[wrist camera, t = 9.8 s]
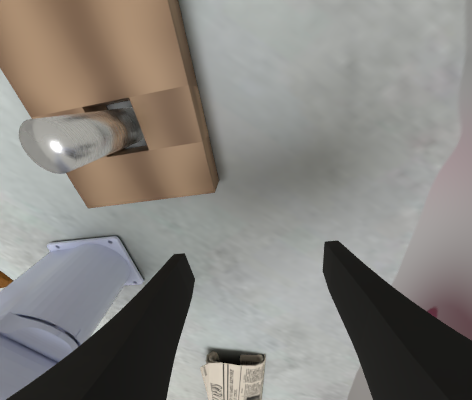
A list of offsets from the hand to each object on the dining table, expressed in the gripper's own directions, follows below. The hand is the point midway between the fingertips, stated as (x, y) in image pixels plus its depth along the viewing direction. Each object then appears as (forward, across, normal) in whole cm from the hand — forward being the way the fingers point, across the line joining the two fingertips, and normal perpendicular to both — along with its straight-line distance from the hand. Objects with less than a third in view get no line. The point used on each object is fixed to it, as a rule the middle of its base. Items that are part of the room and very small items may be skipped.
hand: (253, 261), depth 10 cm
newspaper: (+10, +10, +48) cm, 50 cm away
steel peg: (+9, +9, -7) cm, 15 cm away
